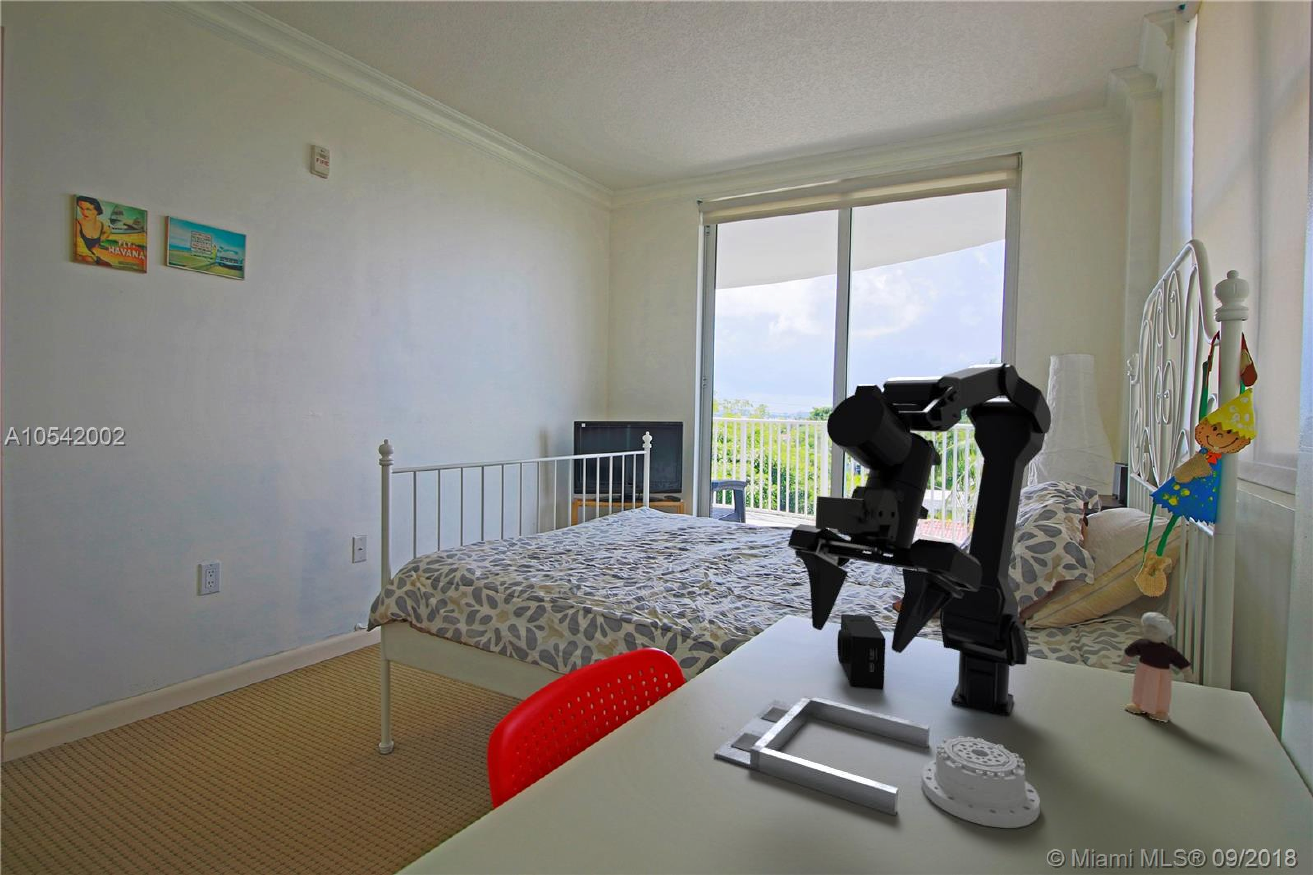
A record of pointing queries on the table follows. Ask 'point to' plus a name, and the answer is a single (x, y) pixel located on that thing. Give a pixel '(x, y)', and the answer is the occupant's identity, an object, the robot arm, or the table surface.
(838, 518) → the robot arm
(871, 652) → the digital camera
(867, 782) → the u-shaped metal bracket
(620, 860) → the table surface
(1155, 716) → the grandmother figurine
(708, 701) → the table surface
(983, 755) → the mechanical component
